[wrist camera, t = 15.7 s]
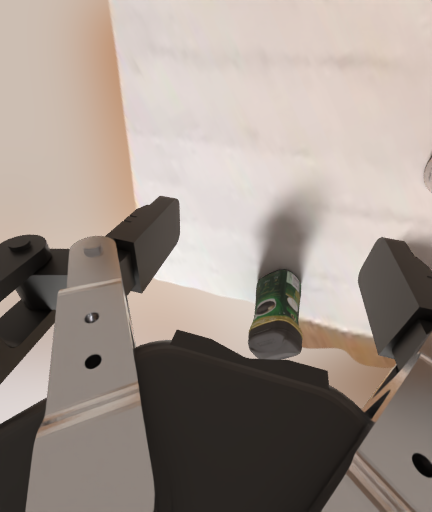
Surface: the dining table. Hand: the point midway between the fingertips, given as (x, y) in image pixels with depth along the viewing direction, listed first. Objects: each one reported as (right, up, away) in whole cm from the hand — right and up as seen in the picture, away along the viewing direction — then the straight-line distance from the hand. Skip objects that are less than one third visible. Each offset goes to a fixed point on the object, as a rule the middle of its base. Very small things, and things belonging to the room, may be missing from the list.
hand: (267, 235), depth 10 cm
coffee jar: (+13, -7, +48) cm, 50 cm away
